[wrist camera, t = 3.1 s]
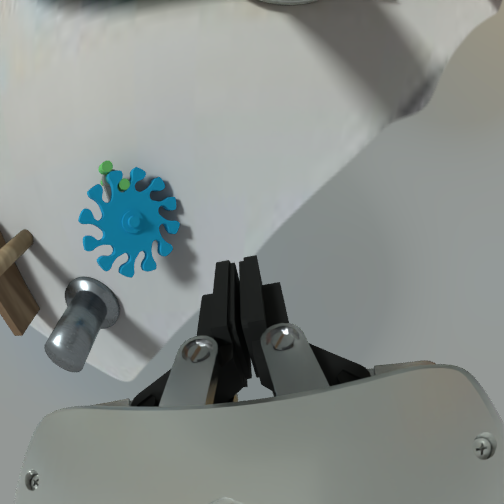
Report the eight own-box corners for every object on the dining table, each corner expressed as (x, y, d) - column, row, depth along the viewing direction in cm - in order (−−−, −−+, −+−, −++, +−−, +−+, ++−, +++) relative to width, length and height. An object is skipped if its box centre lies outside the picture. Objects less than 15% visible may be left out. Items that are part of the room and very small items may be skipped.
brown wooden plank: (-7, 213, 26) (-34, 232, 21) (40, 308, 34) (22, 335, 29) (-14, 216, 26) (-40, 236, 21) (32, 309, 34) (14, 335, 29)
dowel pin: (28, 227, 28) (-9, 259, 21) (35, 244, 29) (1, 278, 22) (18, 231, 28) (-18, 263, 21) (25, 247, 29) (-9, 281, 22)
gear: (196, 248, 29) (109, 298, 23) (169, 245, 33) (95, 286, 27) (160, 141, 25) (60, 178, 19) (137, 155, 29) (55, 187, 23)
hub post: (103, 272, 31) (69, 329, 23) (129, 322, 35) (107, 381, 26) (58, 281, 32) (22, 331, 23) (84, 326, 36) (59, 378, 27)
